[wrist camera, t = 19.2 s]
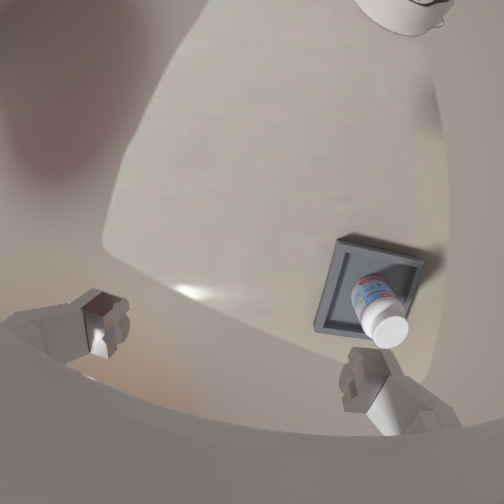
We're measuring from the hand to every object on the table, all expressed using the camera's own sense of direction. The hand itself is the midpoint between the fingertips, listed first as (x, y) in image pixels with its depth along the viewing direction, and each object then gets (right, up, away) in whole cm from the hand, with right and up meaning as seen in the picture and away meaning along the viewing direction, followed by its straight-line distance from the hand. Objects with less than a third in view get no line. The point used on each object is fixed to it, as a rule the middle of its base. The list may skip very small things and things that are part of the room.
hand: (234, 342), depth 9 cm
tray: (+18, -3, +31) cm, 37 cm away
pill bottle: (+18, -3, +31) cm, 36 cm away
